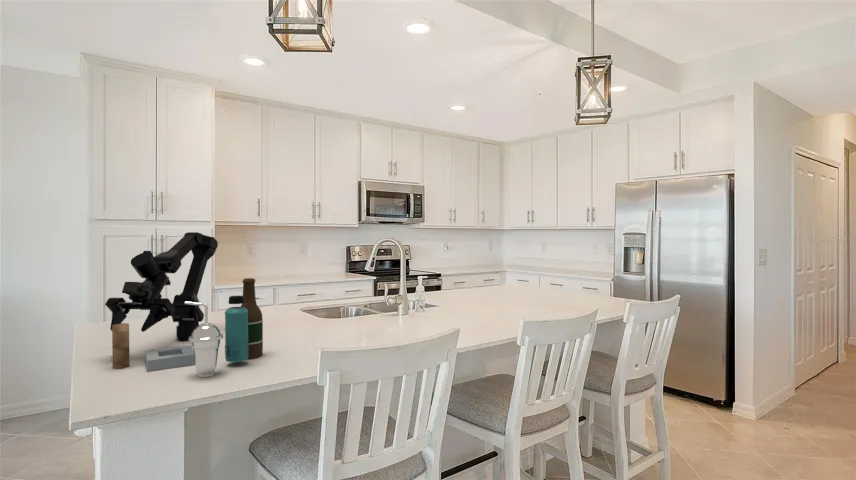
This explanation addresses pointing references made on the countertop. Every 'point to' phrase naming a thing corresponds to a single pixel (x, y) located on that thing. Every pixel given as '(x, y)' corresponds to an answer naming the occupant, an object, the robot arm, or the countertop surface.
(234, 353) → the beverage bottle
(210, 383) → the countertop surface
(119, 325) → the peg
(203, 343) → the cup with straw
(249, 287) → the beer bottle
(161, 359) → the socket
